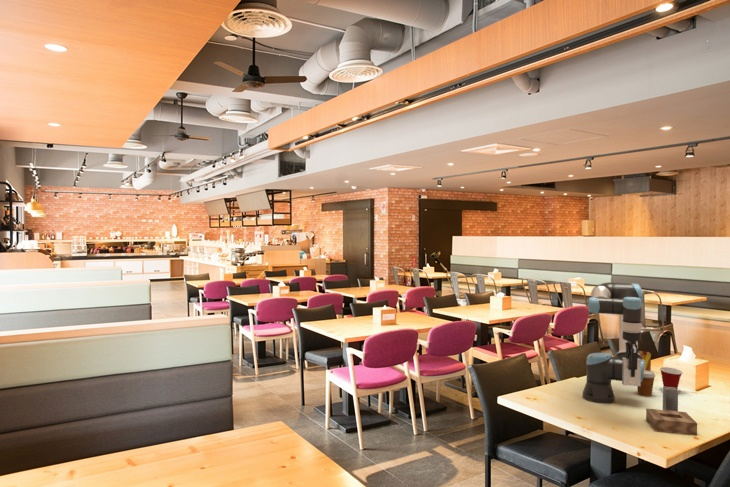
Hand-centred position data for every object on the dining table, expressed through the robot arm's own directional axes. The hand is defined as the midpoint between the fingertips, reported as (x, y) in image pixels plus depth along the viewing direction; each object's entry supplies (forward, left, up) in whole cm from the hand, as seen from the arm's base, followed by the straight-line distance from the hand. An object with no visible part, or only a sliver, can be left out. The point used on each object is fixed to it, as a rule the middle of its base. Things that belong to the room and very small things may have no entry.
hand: (631, 382), depth 228 cm
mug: (+25, +91, -18) cm, 96 cm away
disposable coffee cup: (+16, +44, -17) cm, 50 cm away
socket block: (+15, -4, -17) cm, 23 cm away
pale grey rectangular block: (0, 0, -1) cm, 1 cm away
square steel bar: (+20, +15, -17) cm, 30 cm away
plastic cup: (+31, +54, -17) cm, 64 cm away
